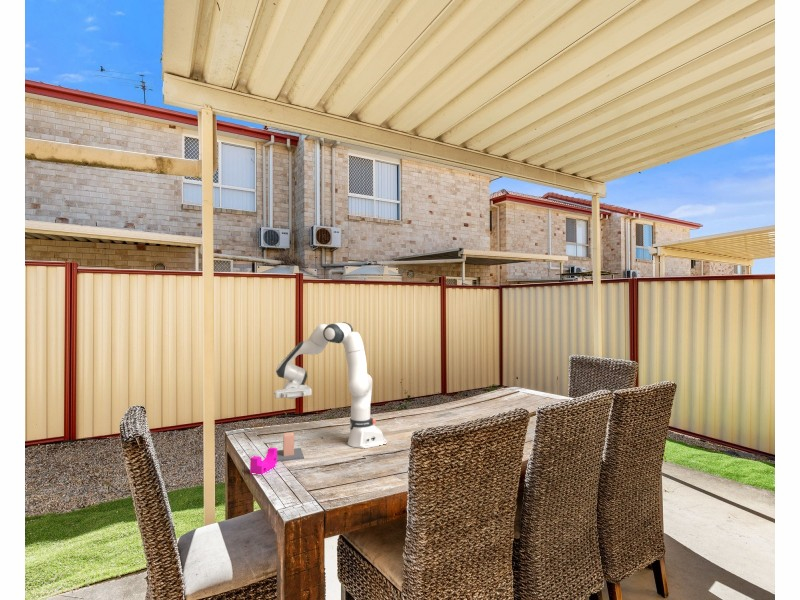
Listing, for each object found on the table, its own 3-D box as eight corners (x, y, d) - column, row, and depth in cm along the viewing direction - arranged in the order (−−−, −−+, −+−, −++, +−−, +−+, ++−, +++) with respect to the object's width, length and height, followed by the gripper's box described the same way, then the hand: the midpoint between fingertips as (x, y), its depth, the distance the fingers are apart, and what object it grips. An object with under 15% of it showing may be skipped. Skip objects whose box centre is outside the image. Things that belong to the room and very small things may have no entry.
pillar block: (293, 451, 207) (293, 432, 207) (294, 454, 202) (294, 435, 203) (283, 452, 205) (283, 433, 206) (283, 456, 201) (284, 436, 201)
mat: (300, 449, 213) (300, 447, 213) (303, 458, 200) (303, 457, 200) (273, 452, 208) (273, 450, 208) (275, 462, 195) (275, 460, 195)
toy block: (261, 476, 178) (262, 459, 179) (250, 474, 180) (250, 458, 180) (281, 464, 193) (281, 448, 193) (270, 462, 195) (270, 447, 195)
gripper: (273, 386, 226) (274, 391, 214) (309, 384, 234) (313, 388, 221) (273, 397, 226) (275, 403, 213) (309, 394, 234) (313, 399, 221)
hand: (294, 395), depth 217 cm, fingers open, 8 cm apart
